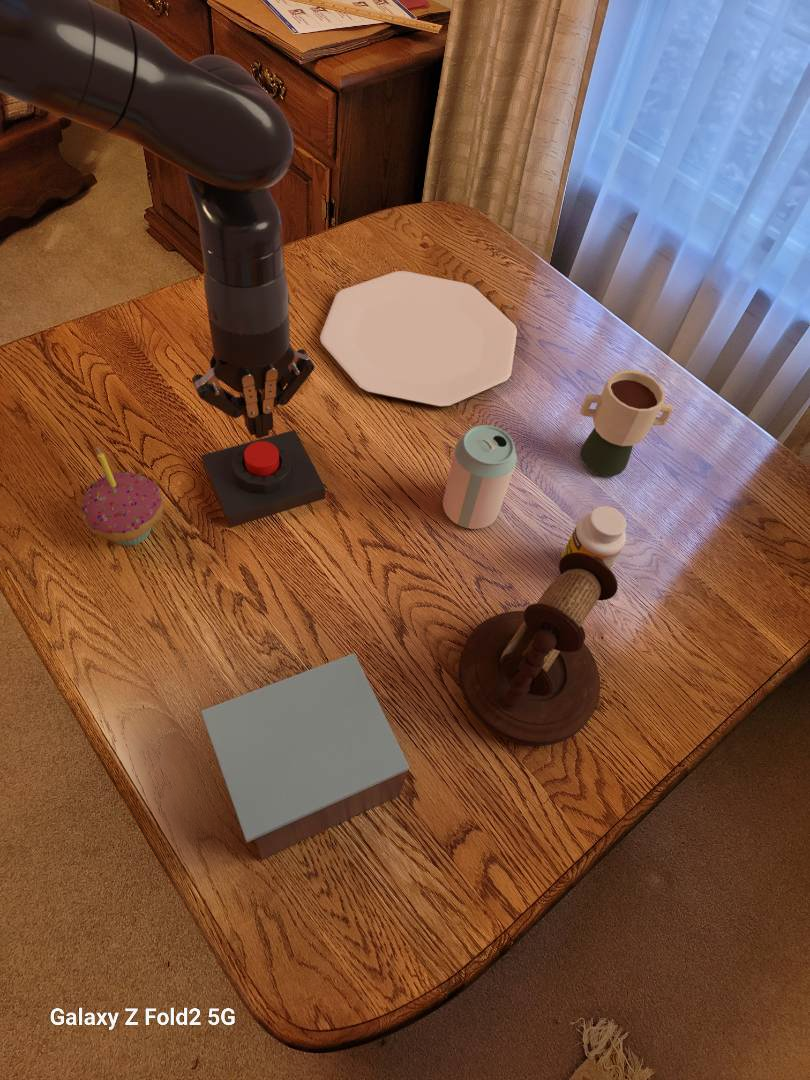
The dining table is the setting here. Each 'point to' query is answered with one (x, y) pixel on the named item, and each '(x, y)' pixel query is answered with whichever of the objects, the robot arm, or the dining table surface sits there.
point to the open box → (329, 816)
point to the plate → (419, 338)
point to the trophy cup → (621, 419)
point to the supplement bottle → (599, 535)
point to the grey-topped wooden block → (302, 745)
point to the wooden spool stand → (539, 659)
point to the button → (261, 458)
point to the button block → (263, 481)
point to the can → (479, 476)
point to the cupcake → (122, 506)
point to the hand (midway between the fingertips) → (259, 431)
